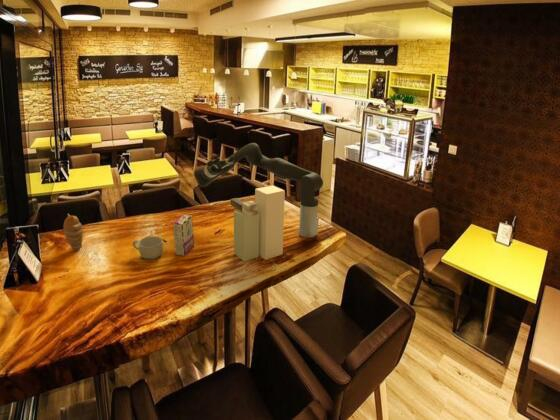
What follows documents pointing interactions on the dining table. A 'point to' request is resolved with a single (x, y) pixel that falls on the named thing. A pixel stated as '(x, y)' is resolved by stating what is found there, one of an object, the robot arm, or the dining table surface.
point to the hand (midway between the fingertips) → (226, 158)
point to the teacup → (149, 247)
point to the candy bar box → (183, 235)
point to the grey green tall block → (246, 235)
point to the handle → (245, 207)
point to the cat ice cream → (73, 232)
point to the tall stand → (270, 220)
